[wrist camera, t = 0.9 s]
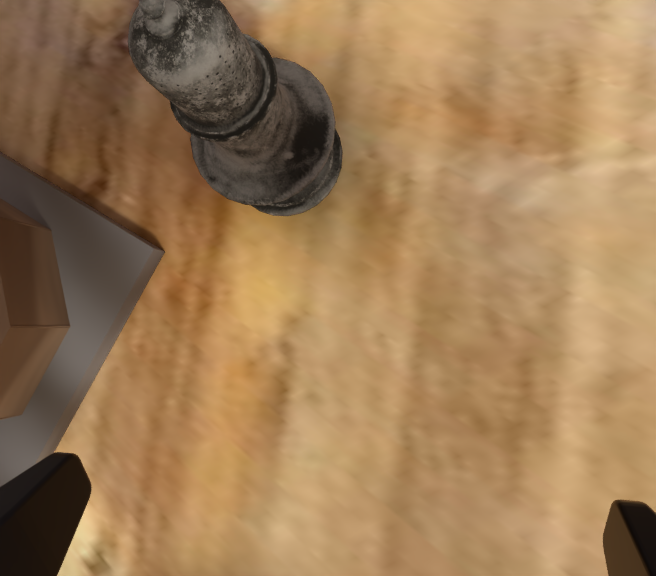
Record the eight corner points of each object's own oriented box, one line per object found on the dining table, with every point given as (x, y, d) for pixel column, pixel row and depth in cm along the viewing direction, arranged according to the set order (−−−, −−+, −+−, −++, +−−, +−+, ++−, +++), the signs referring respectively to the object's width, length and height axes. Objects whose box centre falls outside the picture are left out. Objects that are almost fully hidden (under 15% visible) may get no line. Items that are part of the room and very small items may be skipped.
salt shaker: (210, 124, 24) (6, -61, 13) (326, 76, 23) (222, -172, 12) (245, 240, 24) (63, 158, 12) (366, 196, 23) (299, 58, 11)
